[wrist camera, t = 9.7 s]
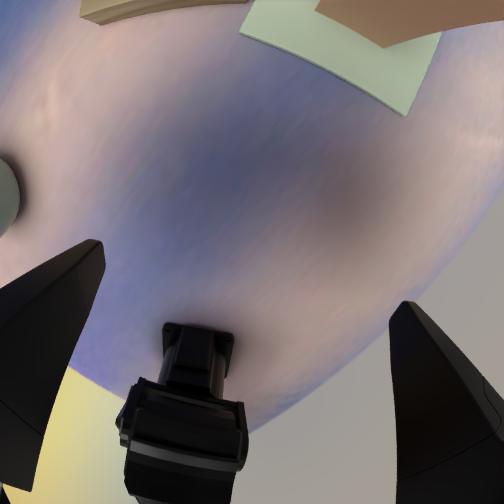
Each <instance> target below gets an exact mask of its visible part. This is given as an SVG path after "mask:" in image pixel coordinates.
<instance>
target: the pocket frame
mask: <svg viewBox="0 0 504 504" xmlns="http://www.w3.org/2000/svg"><path fill="white" fill-rule="evenodd" d="M227 3H246V0H81V8H80V17H81V18H83V19H86V20H89V21H91V22H94V23H97V24H99V25H104V24H107V23H110V22H114V21H118V20H121V19H125V18H129V17H133V16H138V15H142V14H147V13H152V12H157V11H163V10H169V9H176V8H183V7H191V6H200V5H211V4H227Z"/></svg>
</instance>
